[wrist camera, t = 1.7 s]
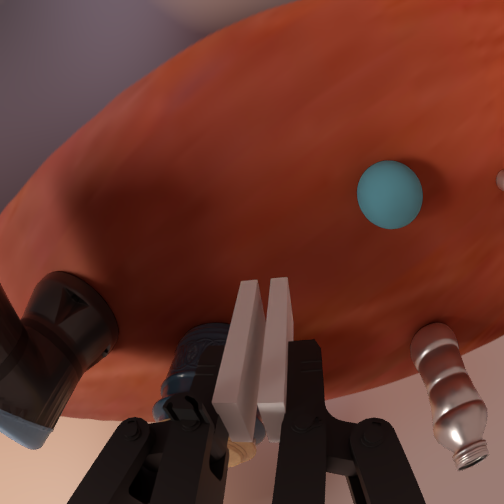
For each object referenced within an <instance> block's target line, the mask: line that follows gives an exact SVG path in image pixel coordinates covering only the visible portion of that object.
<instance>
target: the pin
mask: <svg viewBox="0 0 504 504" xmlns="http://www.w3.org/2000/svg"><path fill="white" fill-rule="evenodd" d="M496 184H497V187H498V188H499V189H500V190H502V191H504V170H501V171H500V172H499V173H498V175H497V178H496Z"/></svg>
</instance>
